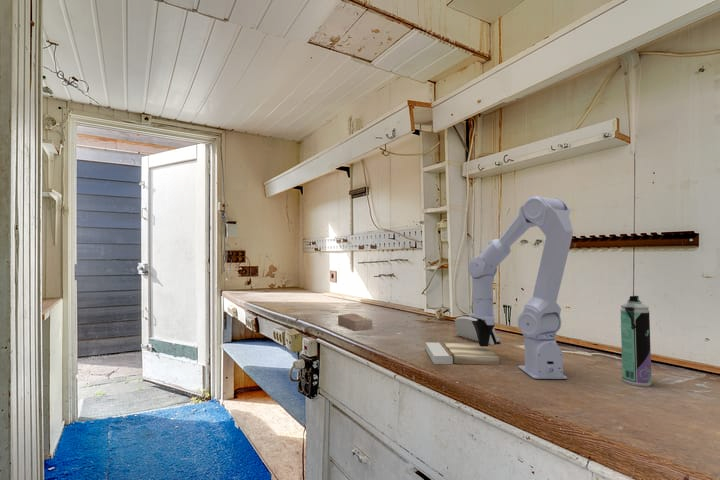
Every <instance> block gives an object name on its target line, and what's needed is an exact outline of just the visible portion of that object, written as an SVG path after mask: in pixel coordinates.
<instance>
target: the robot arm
mask: <svg viewBox="0 0 720 480" xmlns="http://www.w3.org/2000/svg"><path fill="white" fill-rule="evenodd" d="M570 213H571V208H570V207H569V205H567V203H566V202H565V201H564V200H562V199H560V198H550V197H544V196H540V195H533V196H530V197H529V198H527V199H526V200H525V202H524V204H523V205H521V206H520V207H519V210H518V214H517V215H516V217H515V218H514V219H513V221H512V222H511V224H510V225H509V226H508V227H507V229H506V230H505V232H504V233H502V236H500V238H496V239H492V240H489V242H488V245H487V247H486V248H485V249H484V250H483V252H480V253H479V255H478V256H477V257H473V258H471V259H470V261H469V262H468V264H467V271H468V274H469V276H471V279H472V282H471V283H472V285H471V286H472V313H468V314H469V316H470V317H475V318H478V320H477V321H472V323H473V325H474V327H475V330H476V333H477V337H478V341H477V343H478V344H479V345H480V346H486V347H488V346H489V339H490V335H491V332H492V329H493V328H494V329H495V326H496V323H495V314H494V282H495V276H496V274H497V273H498V267H499V265H501V263H502V262H503V261H504V260H505V259H506V258H507V257H508V256H509V255H510V253H511V247H512V245H513V244H514V243H515V242H516V241H518V240H519V238H520V237H522V236H523V235H524V234H525V233H526V232H527V231H528V230H529V229H530V228H533V227H538V228H539V229H540V231H541V232H542V233H543V234H544V236H545V241H544V246H543V250H542V255H541V258H540V264H539V267H538V271H537V274H536V275H537V277H536V280H535V285H534V289H533V294H532V297H530V299H529V300H528V301H527V302H526V303H525V304H524V307H523V310H522V312H521V313H520V314H519V316H518V317H517V327H518V329H519V332H521V334H522V337H524V338H523V340H524V343H523V344H524V345H523V347H524V365H518V368H519V369H521V370H522V371H523V372H525V374H527V375H529V376H530V377H531V378H533V379H536V380H539V379H540V380H541V379H542V380H547V379H548V380H549V379H550V380H568V376H566V375H565V374H564V360H563V358H564V355H563V351H562V348H561V347H560V345H558V343H557V339H556V338H557V332H559V330H560V329H561V327H562V318H561V312H562V311H561V310H562V308H561V307H560V306H559V304H558V302H557V301H558V298H559V297H558V296H559V292H560V288H561V285H562V284H561V283H562V280H563V276H564V271H565V268H566V264H567V259H568V255H569V251H570V247H571V244H572V239H573V235H574V230H573V226H572V222H571V218H570Z"/></svg>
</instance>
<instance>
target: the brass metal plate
mask: <svg viewBox="0 0 720 480" xmlns="http://www.w3.org/2000/svg"><path fill="white" fill-rule="evenodd" d="M443 344H444V346H445V347H446V348H447V349H448V351H449V352H450V353H451V354H452V360H453V364H457V365H458V364H459V365H460V364H463V365H465V364H466V365H490V366H491V365H495V366H497V365H499V366H500V356H499V355H497V354H496V353H495V352H493V350H491V349H489V348H488V346H480V345H479V343H477V342H476V343H470V342H469V343H468V342H443Z"/></svg>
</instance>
